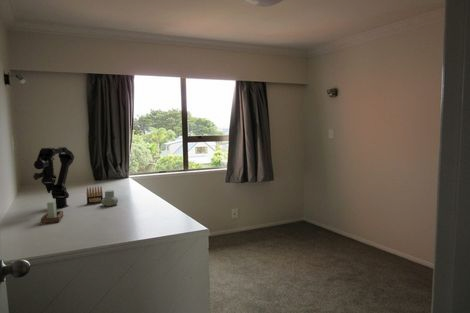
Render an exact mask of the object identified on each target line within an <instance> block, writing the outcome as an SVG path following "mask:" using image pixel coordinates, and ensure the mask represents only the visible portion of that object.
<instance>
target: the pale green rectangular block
mask: <svg viewBox="0 0 470 313" xmlns="http://www.w3.org/2000/svg"><path fill="white" fill-rule="evenodd" d="M46 207H47V208H46V209H47V212H48V218H52V217H56V216H57V212H56V211H57V208H56V199H50V200H48V201H47V203H46Z"/></svg>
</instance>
